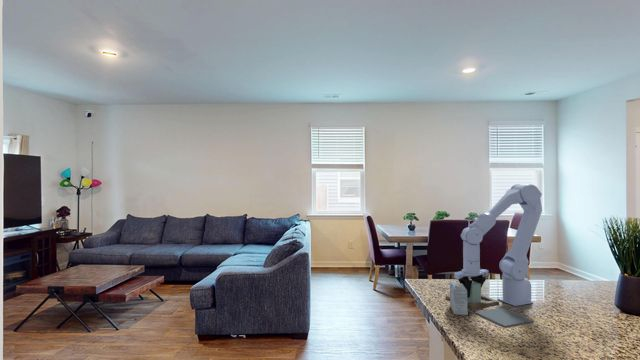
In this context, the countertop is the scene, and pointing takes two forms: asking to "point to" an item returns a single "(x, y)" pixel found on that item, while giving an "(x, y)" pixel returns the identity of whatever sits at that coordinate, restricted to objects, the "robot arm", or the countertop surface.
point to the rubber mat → (504, 317)
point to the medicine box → (458, 298)
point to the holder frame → (481, 304)
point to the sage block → (475, 293)
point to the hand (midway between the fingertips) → (471, 296)
